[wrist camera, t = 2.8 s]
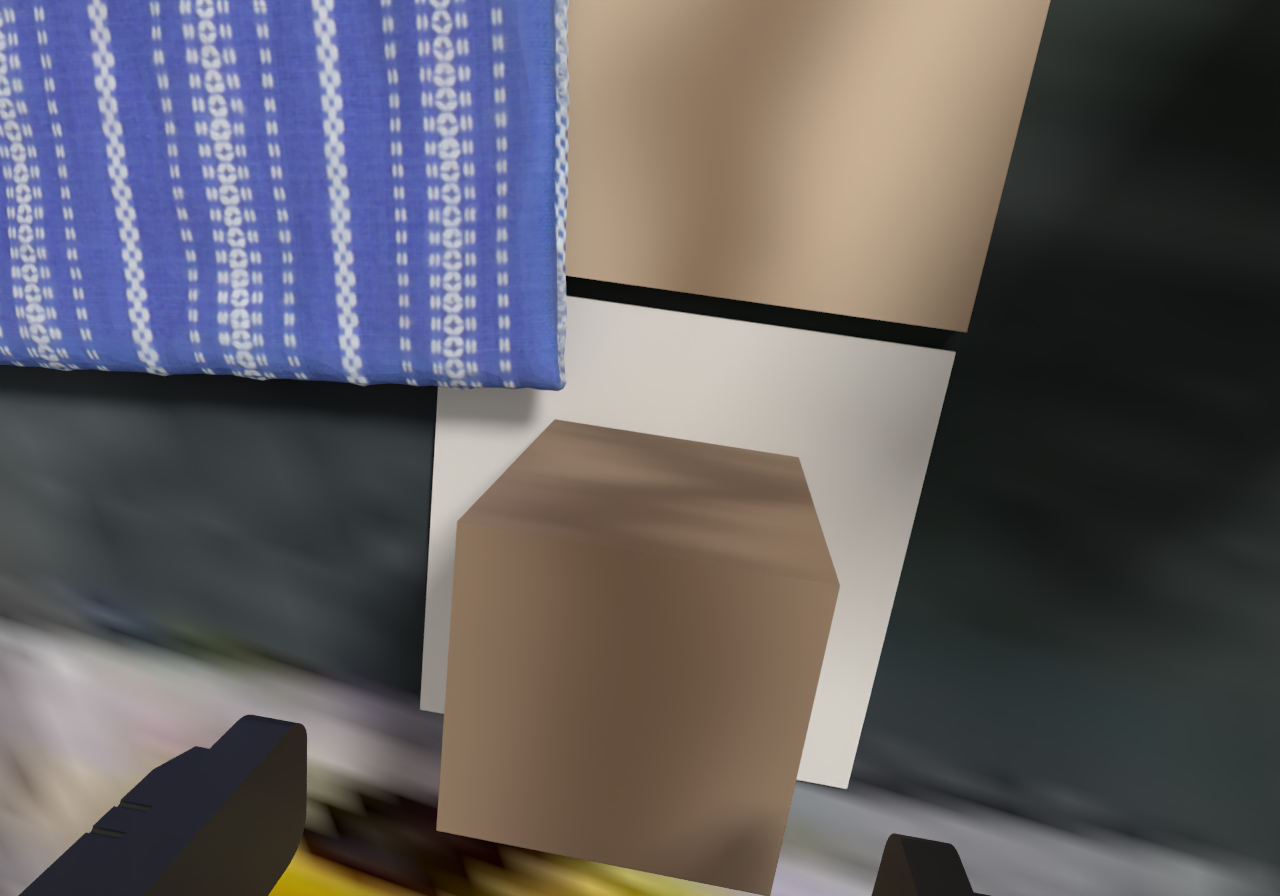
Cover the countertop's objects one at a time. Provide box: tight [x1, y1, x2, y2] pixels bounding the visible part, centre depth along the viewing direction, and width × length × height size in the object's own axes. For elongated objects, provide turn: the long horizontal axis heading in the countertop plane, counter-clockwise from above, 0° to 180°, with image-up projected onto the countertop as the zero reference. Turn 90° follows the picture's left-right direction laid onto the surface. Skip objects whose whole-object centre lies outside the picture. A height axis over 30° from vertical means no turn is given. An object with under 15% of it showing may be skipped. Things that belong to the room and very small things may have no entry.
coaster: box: [565, 0, 1050, 332], centre depth 16 cm, size 10×11×1 cm
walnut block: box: [436, 419, 840, 896], centre depth 16 cm, size 6×6×7 cm
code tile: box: [420, 295, 956, 789], centre depth 19 cm, size 12×12×1 cm
